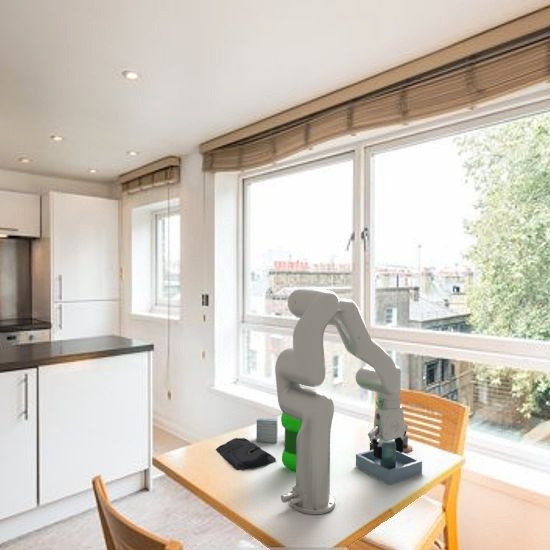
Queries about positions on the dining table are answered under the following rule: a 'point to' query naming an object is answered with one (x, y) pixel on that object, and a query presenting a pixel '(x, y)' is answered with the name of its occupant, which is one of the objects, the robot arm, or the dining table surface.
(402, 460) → the tray
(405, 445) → the crank lever
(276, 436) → the medicine box
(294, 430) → the plastic bottle
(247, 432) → the dining table surface
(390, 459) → the teal cylinder
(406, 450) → the crank base
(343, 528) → the dining table surface
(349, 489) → the dining table surface
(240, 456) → the dark slate chunk
